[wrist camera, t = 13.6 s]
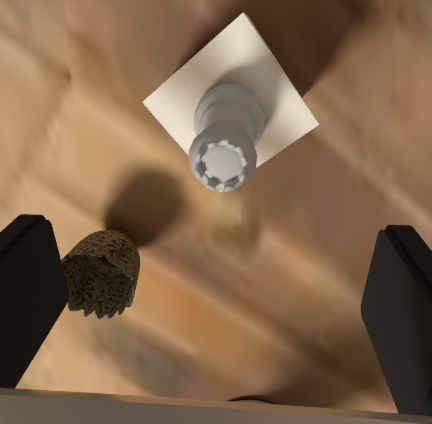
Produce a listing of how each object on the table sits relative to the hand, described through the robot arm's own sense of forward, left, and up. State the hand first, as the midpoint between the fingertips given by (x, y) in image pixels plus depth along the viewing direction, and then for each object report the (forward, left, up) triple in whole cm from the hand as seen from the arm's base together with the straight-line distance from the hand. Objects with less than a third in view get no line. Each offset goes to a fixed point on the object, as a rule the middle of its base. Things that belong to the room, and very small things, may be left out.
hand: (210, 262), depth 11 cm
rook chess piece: (0, 0, -15) cm, 15 cm away
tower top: (0, +1, -19) cm, 19 cm away
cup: (-19, -5, -24) cm, 31 cm away
